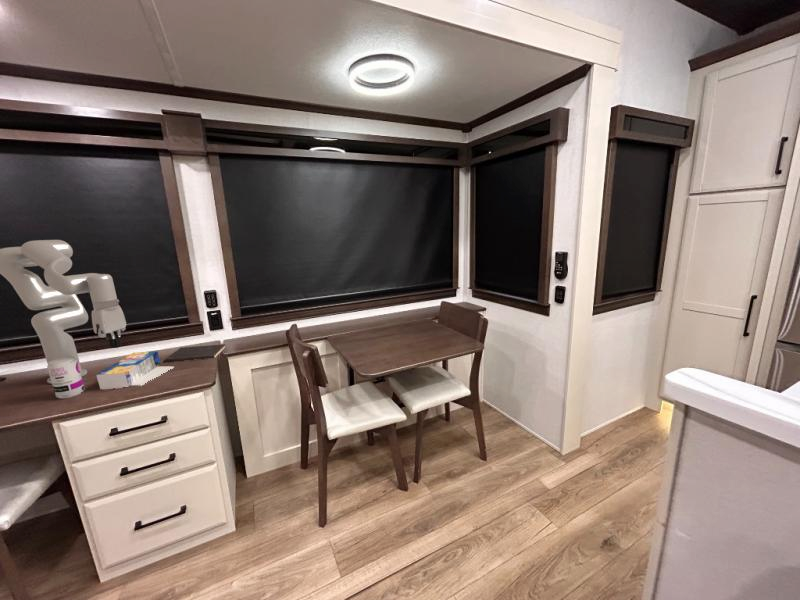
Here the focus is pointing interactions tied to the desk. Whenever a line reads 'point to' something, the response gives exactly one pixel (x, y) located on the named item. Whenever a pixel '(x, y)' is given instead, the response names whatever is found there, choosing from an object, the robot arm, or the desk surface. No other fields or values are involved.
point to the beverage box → (128, 370)
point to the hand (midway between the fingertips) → (116, 346)
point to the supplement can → (65, 377)
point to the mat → (151, 375)
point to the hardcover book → (195, 353)
